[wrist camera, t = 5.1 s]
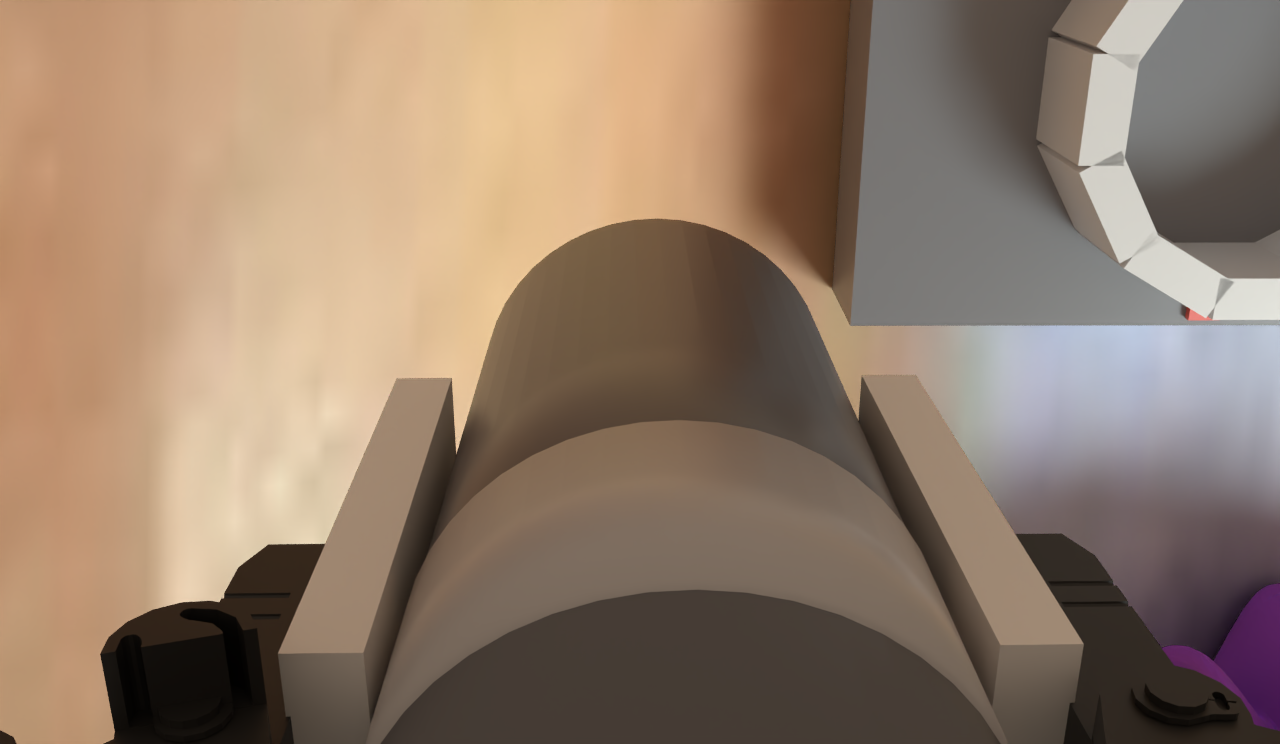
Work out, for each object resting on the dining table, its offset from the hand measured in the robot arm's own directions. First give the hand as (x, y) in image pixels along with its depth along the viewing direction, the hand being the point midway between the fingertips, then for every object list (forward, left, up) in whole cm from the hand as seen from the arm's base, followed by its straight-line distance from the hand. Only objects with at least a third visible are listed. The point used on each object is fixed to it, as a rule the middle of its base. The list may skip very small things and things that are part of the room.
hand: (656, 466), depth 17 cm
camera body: (+14, +3, -17) cm, 22 cm away
